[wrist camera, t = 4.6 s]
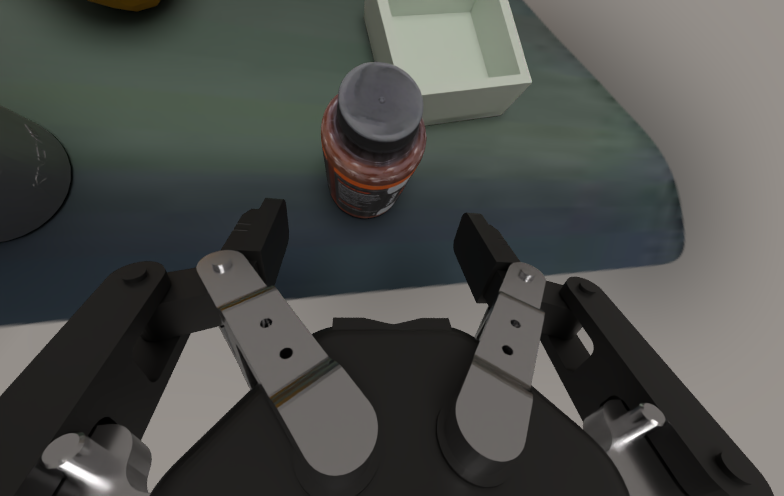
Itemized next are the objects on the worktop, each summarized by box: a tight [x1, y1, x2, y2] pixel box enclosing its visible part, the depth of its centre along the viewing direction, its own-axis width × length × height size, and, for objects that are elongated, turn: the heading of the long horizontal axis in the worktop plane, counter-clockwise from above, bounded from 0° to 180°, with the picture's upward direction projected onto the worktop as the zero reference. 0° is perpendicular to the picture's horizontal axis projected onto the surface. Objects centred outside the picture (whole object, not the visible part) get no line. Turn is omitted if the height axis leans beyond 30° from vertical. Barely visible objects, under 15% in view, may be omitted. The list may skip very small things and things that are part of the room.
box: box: [364, 0, 532, 126], centre depth 24 cm, size 11×11×4 cm
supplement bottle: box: [321, 62, 427, 218], centre depth 18 cm, size 6×6×11 cm
